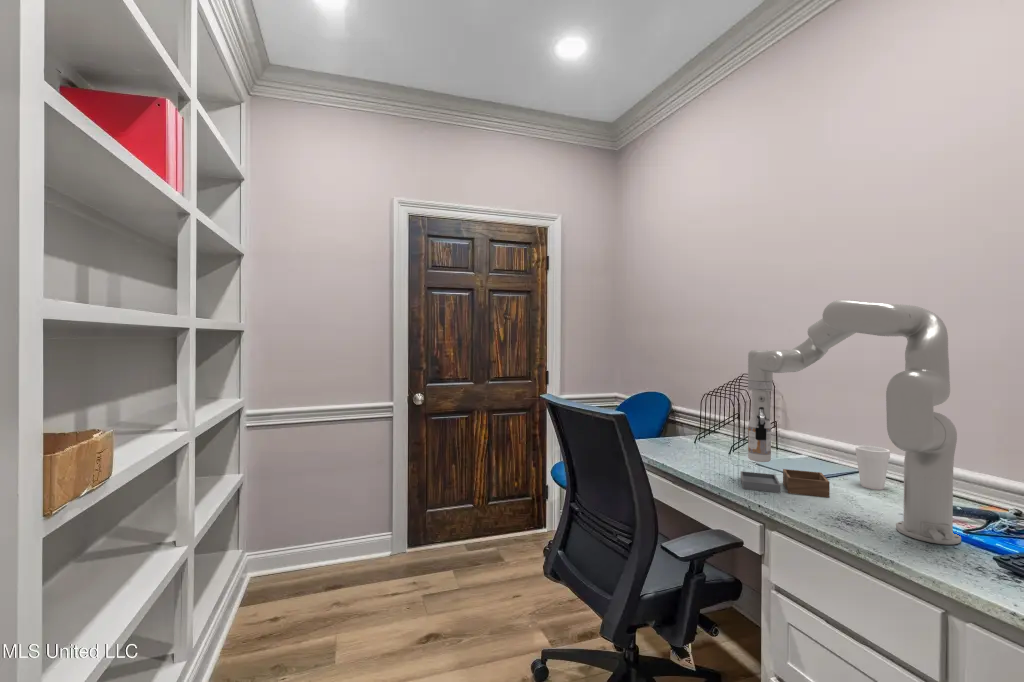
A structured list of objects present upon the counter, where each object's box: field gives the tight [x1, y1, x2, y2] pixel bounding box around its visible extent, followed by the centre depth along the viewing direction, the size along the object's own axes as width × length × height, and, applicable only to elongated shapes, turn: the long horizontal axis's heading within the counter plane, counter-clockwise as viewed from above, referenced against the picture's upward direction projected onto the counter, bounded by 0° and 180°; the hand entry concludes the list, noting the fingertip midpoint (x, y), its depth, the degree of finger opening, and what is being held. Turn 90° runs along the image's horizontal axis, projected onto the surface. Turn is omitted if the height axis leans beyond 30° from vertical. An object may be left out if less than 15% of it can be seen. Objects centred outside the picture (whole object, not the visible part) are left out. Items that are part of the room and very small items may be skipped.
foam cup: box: [855, 445, 891, 491], centre depth 162 cm, size 10×9×13 cm
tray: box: [740, 470, 782, 494], centre depth 163 cm, size 13×11×3 cm
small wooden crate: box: [782, 468, 831, 498], centre depth 158 cm, size 11×11×5 cm
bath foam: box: [747, 414, 772, 463], centre depth 163 cm, size 7×7×20 cm
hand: (759, 437), depth 163 cm, fingers closed on bath foam, 7 cm apart
